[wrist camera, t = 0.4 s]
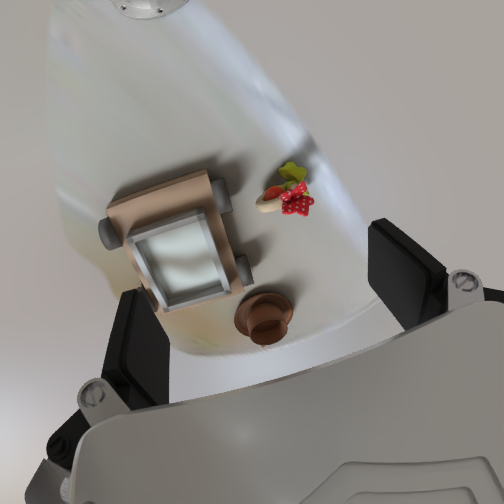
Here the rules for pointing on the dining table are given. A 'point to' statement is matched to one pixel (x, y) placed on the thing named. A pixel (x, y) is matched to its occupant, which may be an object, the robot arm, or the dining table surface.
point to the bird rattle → (287, 193)
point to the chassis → (178, 242)
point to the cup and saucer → (264, 318)
